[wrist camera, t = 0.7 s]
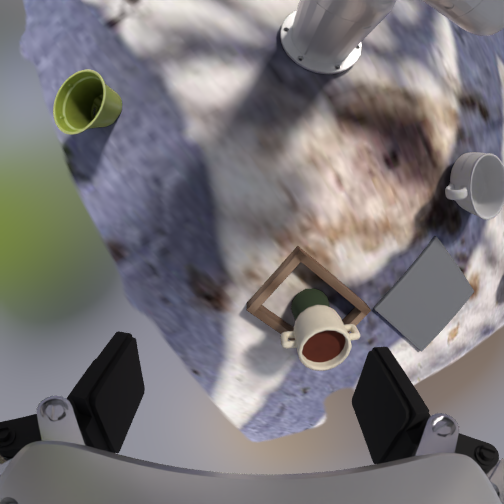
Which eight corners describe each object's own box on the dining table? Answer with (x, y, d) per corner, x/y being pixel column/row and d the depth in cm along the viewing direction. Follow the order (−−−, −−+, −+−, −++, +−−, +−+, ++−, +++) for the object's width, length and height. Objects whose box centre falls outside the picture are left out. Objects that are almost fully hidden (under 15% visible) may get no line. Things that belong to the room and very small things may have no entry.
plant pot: (83, 142, 38) (52, 141, 30) (83, 90, 36) (54, 81, 27) (132, 131, 38) (105, 125, 30) (131, 76, 35) (106, 61, 27)
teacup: (480, 154, 37) (508, 156, 30) (480, 210, 41) (507, 219, 33) (426, 149, 38) (455, 149, 30) (428, 212, 41) (455, 223, 34)
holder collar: (297, 245, 43) (300, 250, 41) (366, 303, 46) (371, 310, 44) (246, 302, 46) (246, 310, 44) (317, 351, 49) (319, 359, 47)
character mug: (277, 325, 48) (283, 375, 35) (275, 287, 45) (281, 332, 33) (339, 318, 47) (362, 364, 35) (341, 281, 45) (368, 321, 33)
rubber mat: (435, 235, 42) (436, 236, 42) (472, 290, 46) (474, 291, 45) (373, 307, 46) (374, 309, 46) (420, 350, 50) (421, 351, 49)
